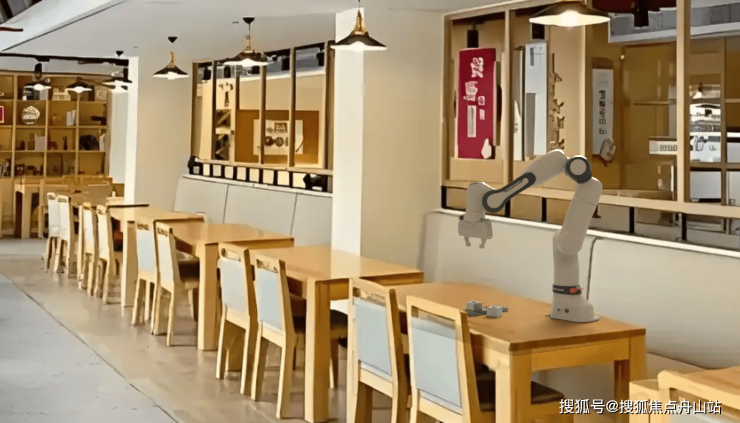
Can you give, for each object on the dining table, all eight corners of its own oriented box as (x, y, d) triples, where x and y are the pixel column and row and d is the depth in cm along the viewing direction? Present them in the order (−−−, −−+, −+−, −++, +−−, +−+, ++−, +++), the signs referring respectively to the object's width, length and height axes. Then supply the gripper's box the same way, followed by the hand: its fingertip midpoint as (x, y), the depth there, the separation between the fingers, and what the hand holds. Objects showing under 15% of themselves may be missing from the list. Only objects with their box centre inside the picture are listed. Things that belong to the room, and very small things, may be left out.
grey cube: (482, 313, 387) (482, 302, 387) (473, 314, 384) (473, 303, 384) (474, 311, 391) (474, 300, 391) (466, 312, 388) (466, 301, 388)
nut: (502, 318, 383) (502, 306, 383) (496, 319, 379) (497, 308, 379) (491, 316, 386) (492, 305, 386) (486, 318, 382) (486, 307, 382)
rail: (508, 313, 394) (508, 307, 394) (471, 318, 382) (471, 312, 382) (495, 310, 401) (495, 304, 401) (459, 315, 388) (459, 309, 388)
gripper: (496, 218, 391) (495, 249, 392) (466, 215, 408) (465, 244, 409) (485, 219, 388) (485, 250, 389) (455, 216, 404) (455, 245, 405)
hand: (474, 247), depth 399 cm, fingers open, 8 cm apart
